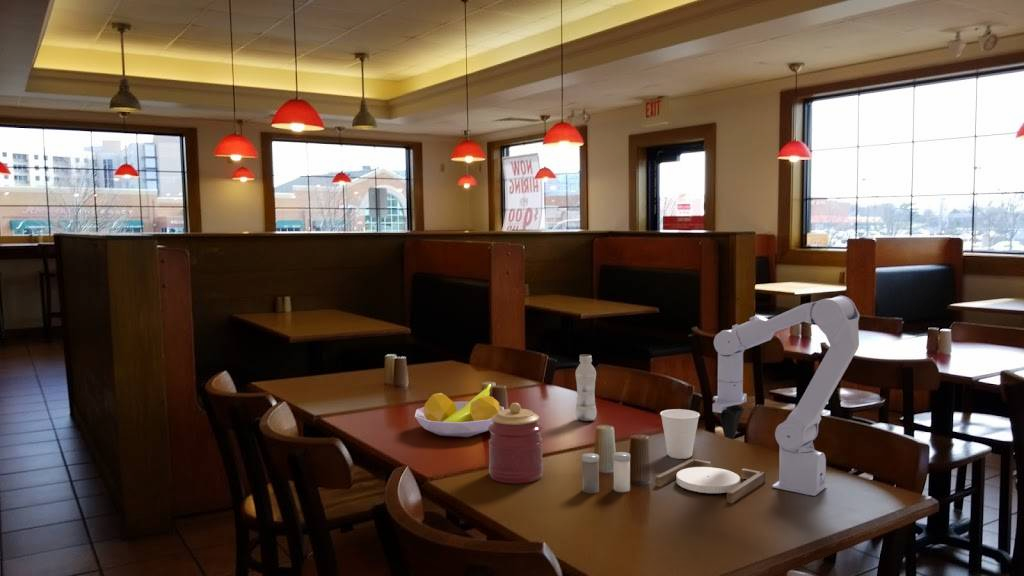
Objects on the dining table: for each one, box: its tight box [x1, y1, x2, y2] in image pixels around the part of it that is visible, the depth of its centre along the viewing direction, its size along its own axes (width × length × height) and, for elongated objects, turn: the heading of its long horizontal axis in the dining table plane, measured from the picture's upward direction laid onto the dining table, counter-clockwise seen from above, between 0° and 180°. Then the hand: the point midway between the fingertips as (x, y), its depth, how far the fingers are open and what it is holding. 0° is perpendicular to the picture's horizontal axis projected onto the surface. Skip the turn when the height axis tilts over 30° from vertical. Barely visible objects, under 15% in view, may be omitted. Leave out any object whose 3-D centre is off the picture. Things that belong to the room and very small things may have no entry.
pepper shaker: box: [581, 452, 600, 495], centre depth 175 cm, size 4×4×8 cm
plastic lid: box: [675, 466, 741, 494], centre depth 177 cm, size 14×14×2 cm
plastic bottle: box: [575, 354, 598, 422], centre depth 238 cm, size 6×7×20 cm
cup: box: [659, 408, 701, 460], centre depth 200 cm, size 10×10×11 cm
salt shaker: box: [612, 451, 631, 493], centre depth 175 cm, size 4×4×8 cm
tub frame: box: [654, 457, 766, 504], centre depth 178 cm, size 18×18×2 cm
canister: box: [488, 402, 544, 485], centre depth 186 cm, size 13×13×18 cm
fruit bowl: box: [414, 383, 505, 438], centre depth 228 cm, size 28×27×11 cm
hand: (729, 436), depth 185 cm, fingers closed
